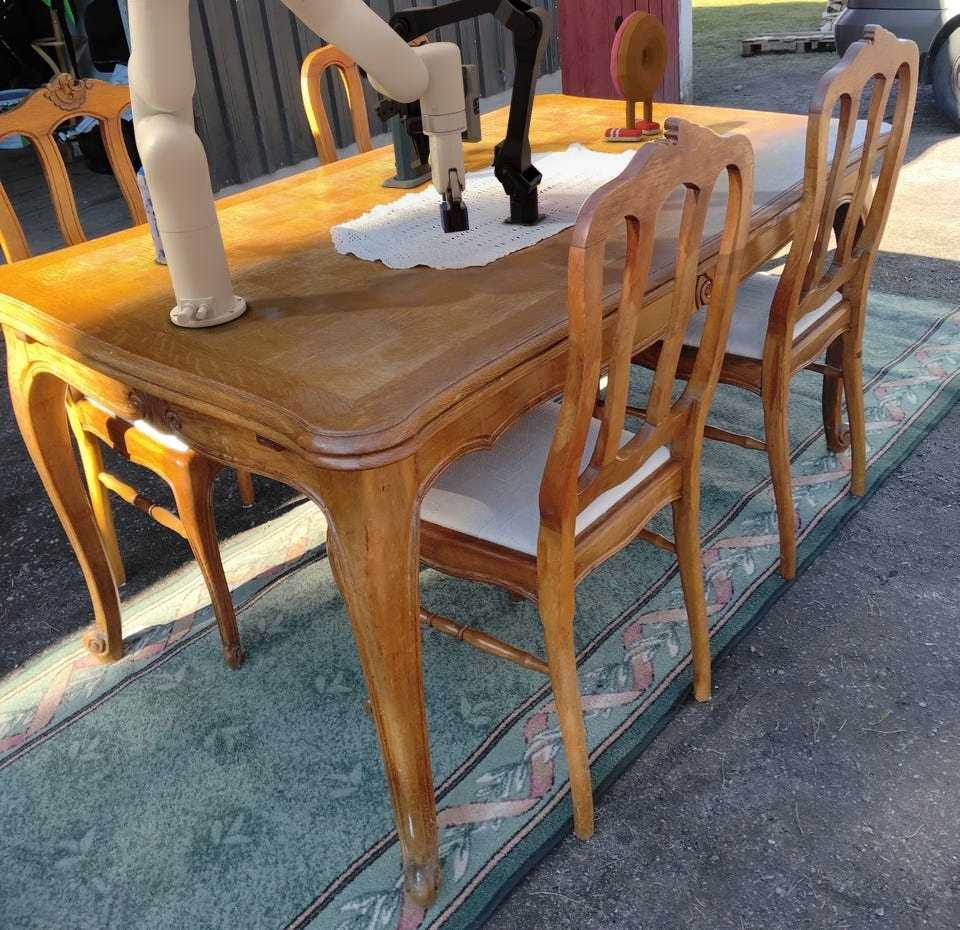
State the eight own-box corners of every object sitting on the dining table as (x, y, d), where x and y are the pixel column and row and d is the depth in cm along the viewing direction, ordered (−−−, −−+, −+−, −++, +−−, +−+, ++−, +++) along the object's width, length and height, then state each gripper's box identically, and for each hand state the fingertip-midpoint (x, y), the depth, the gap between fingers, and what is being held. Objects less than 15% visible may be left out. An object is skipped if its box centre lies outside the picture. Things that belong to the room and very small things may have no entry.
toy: (639, 125, 264) (640, 5, 249) (672, 128, 258) (675, 5, 243) (595, 143, 250) (594, 16, 235) (629, 146, 245) (630, 16, 229)
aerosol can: (156, 266, 189) (130, 162, 179) (157, 254, 195) (131, 153, 185) (197, 260, 190) (173, 156, 180) (196, 248, 197) (173, 148, 187)
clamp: (411, 188, 225) (400, 91, 214) (380, 186, 229) (368, 91, 218) (482, 152, 251) (476, 64, 240) (453, 150, 255) (446, 64, 244)
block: (465, 223, 176) (463, 200, 174) (469, 230, 172) (467, 207, 170) (441, 226, 175) (439, 204, 173) (444, 233, 172) (442, 210, 170)
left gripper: (417, 115, 171) (428, 217, 180) (428, 134, 157) (440, 244, 166) (458, 110, 172) (468, 212, 181) (474, 129, 157) (483, 238, 167)
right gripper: (369, 76, 198) (378, 154, 206) (375, 91, 182) (386, 174, 190) (422, 70, 199) (430, 148, 207) (434, 84, 183) (442, 168, 191)
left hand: (454, 226), depth 173 cm, fingers closed on block, 4 cm apart
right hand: (421, 159), depth 199 cm, fingers open, 9 cm apart
